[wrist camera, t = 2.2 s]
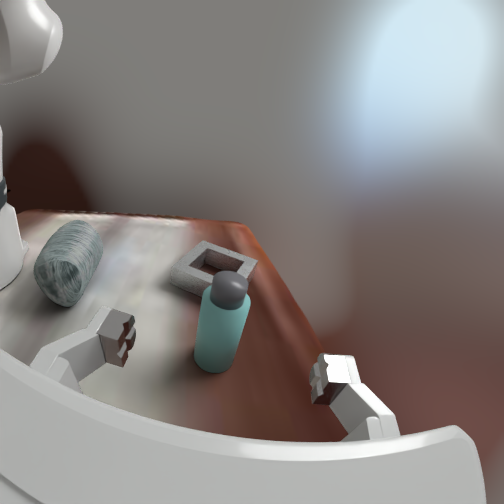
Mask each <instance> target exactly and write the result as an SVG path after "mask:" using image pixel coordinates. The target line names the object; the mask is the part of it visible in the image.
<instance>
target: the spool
mask: <svg viewBox="0 0 504 504" xmlns="http://www.w3.org/2000/svg"><path fill="white" fill-rule="evenodd" d="M102 254H103V244H102V241H101V239H100V236H99V235H98V233H97V232H96V230H95V229H94V228H93V227H92V226H91V225H89V224H88V223H86V222H84V221H80V220H75V221H71V222H69V223H67V224H65V225H63V226H62V227H60V228H59V229H58V231H57V232H55V233H54V234H53V235H52V236H51V238H50V239H49V240H48V241H47V243H46V245H45V246H44V247H43V249H42V251H41V252H40V254H39V256H38V258H37V260H36V262H35V265H34V275H35V279H36V281H37V283H38V285H39V287H40V288H41V290H42V291H43V292H44V293H45V294H46V295H47V296H48V297H49V298H50V299H51V300H52V301H53V302H55V303H57V304H59V305H61V306H65V307H69V306H72V305H74V304H76V302H77V301H78V300H79V299H80V298H81V296H82V295H83V292H84V290H85V288H86V286H87V285H88V283H89V281H90V279H91V277H92V275H93V273H94V271H95V270H96V268H97V266H98V264H99V261H100V259H101V257H102Z"/></svg>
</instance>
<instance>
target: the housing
mask: <svg viewBox="0 0 504 504" xmlns="http://www.w3.org/2000/svg"><path fill="white" fill-rule="evenodd" d="M257 262H258V260H255V259H252V258H250V257H247V256H244V255H241V254H239V253H236V252H233V251H230V250H228V249H225V248H222V247H219V246H217V245H214V244H211V243H208V242H206V241H202V242H200V243H199V244H198V245H197V246H196V247H194V248H193V249H192V250H191V251H190V252H189V253H187V254H186V255H185V256H184V257H183V258H181V259H180V260H179V261H178V262H177V263H176V264H174V265H173V266H172V270H171V284H172V285H175V286H177V287H179V288H181V289H184V290H186V291H188V292H191V293H193V294H195V295H198V296H200V297H202V296H203V292H204V290H205V289H206V288H207V287H209V286H211V285H212V280H213V275H210V274H208V273H205V272H203V271H200V270H199V269H200V268H201V267H202V266H203V265H204V264H205V263H206V264H208V265H211V266H213V267H216V268H218V269H221V270H224V271H232V272H236V273H238V274H240V275H242V276H243V277H245V278H246V280H247V281H248V284H249V283H250V281H251V279H252V278H253V276H254V273H255V269H256V266H257Z"/></svg>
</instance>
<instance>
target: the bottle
mask: <svg viewBox="0 0 504 504" xmlns="http://www.w3.org/2000/svg"><path fill="white" fill-rule="evenodd" d="M247 289H248V281H247V280H246V278H245V277H243V276H242V275H240V274H238V273H236V272H232V271H221V272H218V273H216V274H215V275H214V276H213V280H212V285H211V286H209V287H207V288H206V289H205V290H204V292H203V296H202V302H201V309H200V315H199V322H198V329H197V336H196V343H195V350H194V360H195V362H196V364H197V365H198V366H199V367H200V368H201V369H203V370H205V371H207V372H211V373H221V372H224V371H226V370H228V369H229V368H230V367H231V365H232V363H233V360H234V356H235V353H236V350H237V347H238V343H239V340H240V337H241V334H242V331H243V327H244V324H245V321H246V317H247V314H248V311H249V308H250V298H249V296H248V295H247V294H246V292H247Z"/></svg>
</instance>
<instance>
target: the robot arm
mask: <svg viewBox="0 0 504 504" xmlns="http://www.w3.org/2000/svg"><path fill="white" fill-rule="evenodd" d="M62 36H63V28H62V23H61V20H60V19H59V17H58V16H57V14H56V13H54V12H53V11H52V10H51V9H50V8H49V6H48V5H47V3H46V2H45V0H0V85H3V84H10V83H14V82H17V81H21V80H24V79H27V78H30V77H33V76H36V75H39V74H41V73H42V72H43V71H45V69H46V68H47V67H48V66H49V65H50V64H51V62H52V61H53V60H54V58H55V57H56V55H57V53H58V51H59V48H60V46H61V42H62ZM6 192H7V188H6V183H5V177H3V173H2V129H1V126H0V289H2V288H4V287H5V286H6V285H8V284H9V283H10V282H11V281H12V280H13V279H14V278H15V277H16V276H17V275H18V273H19V272H20V270H21V268H22V266H23V259H24V255H25V254H26V252H27V251H28V249H29V246H28V243H27V242H26V241H24V240H22V239H21V237H20V233H19V228H18V223H17V218H16V213H15V209H14V208H13V207H12V206H10V205H9V204H7V193H6ZM134 323H135V319H134V316H133V315H130V314H127V313H124V312H121V311H118V310H115V309H111V308H108V307H106V306H102V307H100V309H99V310H98V312H97V313H96V314H95V316H94V317H93V319H92V320H91V322H90V323H89V325H88V326H87V328H86V329H81V330H79V331H76V332H74V333H72V334H70V335H68V336H65V337H63V338H61V339H59V340H57V341H55V342H52V343H50V344H48V345H46V346H44V347H42V348H41V350H40V351H39V353H38V354H37V356H36V357H35V359H34V360H33V362H32V363H31V365H30V366H27V365H25V364H24V363H22V362H20V361H19V360H17V359H16V358H14V357H12V356H11V355H9V354H8V353H6V352H5V351H3V350H2V349H0V504H486V495H485V487H484V480H483V474H482V469H481V465H480V460H479V456H478V452H477V449H476V446H475V444H474V442H473V440H472V439H471V438H470V437H469V436H468V435H467V434H466V433H465V432H464V431H463V430H462V429H460V428H459V427H458V426H456V425H451V426H447V427H443V428H439V429H434V430H430V431H425V432H420V433H415V434H409V435H404V436H400V433H399V429H398V425H397V422H396V418H395V415H394V414H393V413H392V412H391V411H390V410H389V409H388V408H387V407H386V406H385V405H384V404H383V403H382V402H381V401H380V400H379V399H378V398H377V397H376V396H375V395H374V394H373V393H372V392H371V391H370V390H369V389H368V388H367V386H366V385H365V384H361V381H360V378H359V374H358V371H357V367H356V364H355V360H354V357H353V356H348V355H337V354H326V353H321V354H320V355H319V357H318V363H316V364H314V365H313V367H312V369H311V372H310V384H311V386H312V387H313V390H312V391H311V397H312V404H321V405H329V406H330V408H331V409H332V411H333V412H334V413H335V415H336V416H337V418H338V419H339V421H340V422H341V423H342V425H343V426H344V428H345V429H346V430H347V432H348V433H349V435H347V436H346V437H345V438H344V439H343V440H342V441H341V442H283V441H269V440H258V439H249V438H241V437H233V436H227V435H220V434H214V433H209V432H204V431H199V430H194V429H189V428H185V427H180V426H176V425H172V424H168V423H164V422H161V421H157V420H154V419H150V418H147V417H143V416H140V415H137V414H134V413H131V412H128V411H125V410H122V409H119V408H117V407H114V406H111V405H108V404H106V403H103V402H101V401H98V400H96V399H93V398H91V397H89V396H86V395H84V394H83V392H82V390H81V388H80V386H79V384H78V382H79V381H81V380H82V379H84V378H85V377H86V376H88V375H89V374H91V373H92V372H94V371H95V370H97V369H98V368H99V367H101V366H102V365H104V364H105V363H106V362H107V363H110V364H113V365H116V366H120V367H124V364H125V362H126V360H127V358H128V352H127V351H129V350H131V349H132V347H133V345H134V342H135V337H136V329H135V328H134V327H133V325H134Z"/></svg>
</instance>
